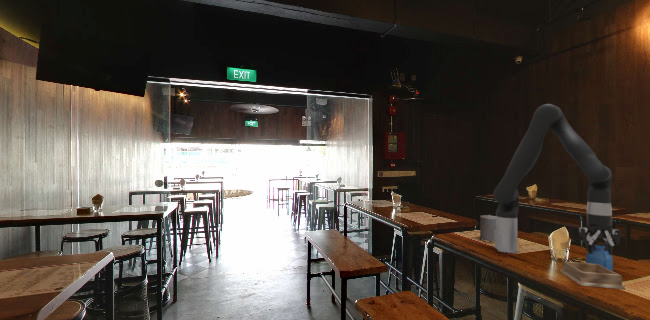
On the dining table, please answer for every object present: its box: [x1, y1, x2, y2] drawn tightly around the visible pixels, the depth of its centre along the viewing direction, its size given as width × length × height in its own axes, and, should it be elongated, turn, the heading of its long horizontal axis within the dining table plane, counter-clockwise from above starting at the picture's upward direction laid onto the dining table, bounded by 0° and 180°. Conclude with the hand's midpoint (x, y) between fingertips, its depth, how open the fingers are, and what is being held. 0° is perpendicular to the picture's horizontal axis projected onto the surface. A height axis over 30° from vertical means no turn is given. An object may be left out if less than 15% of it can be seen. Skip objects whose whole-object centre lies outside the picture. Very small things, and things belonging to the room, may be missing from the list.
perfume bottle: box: [585, 240, 614, 272], centre depth 117 cm, size 6×6×12 cm
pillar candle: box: [479, 214, 496, 241], centre depth 162 cm, size 10×10×15 cm
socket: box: [560, 261, 626, 290], centre depth 107 cm, size 13×13×4 cm
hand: (599, 253), depth 117 cm, fingers open, 6 cm apart
